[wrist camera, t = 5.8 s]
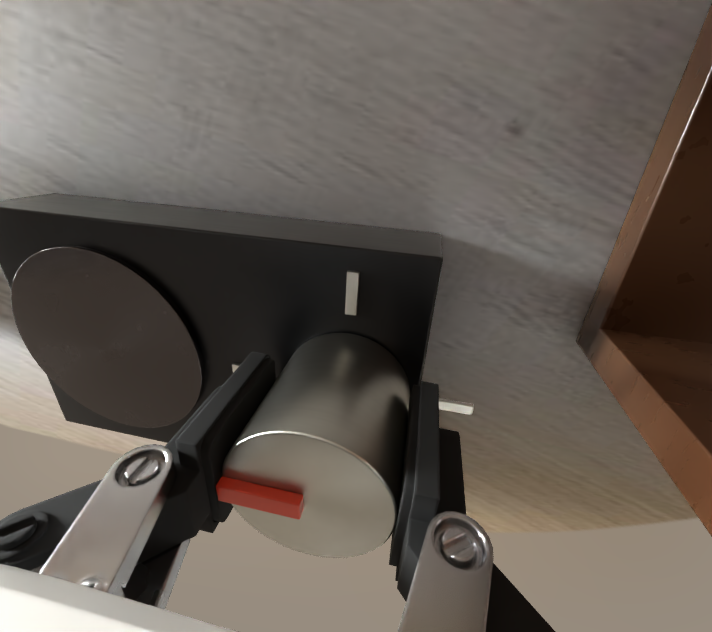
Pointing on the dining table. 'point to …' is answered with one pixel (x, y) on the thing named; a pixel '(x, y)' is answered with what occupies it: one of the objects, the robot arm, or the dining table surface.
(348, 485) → the stove knob
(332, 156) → the dining table surface
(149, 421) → the burner
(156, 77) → the dining table surface
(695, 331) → the shelf
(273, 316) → the stove
